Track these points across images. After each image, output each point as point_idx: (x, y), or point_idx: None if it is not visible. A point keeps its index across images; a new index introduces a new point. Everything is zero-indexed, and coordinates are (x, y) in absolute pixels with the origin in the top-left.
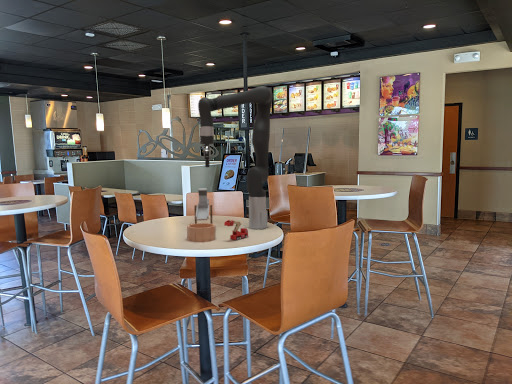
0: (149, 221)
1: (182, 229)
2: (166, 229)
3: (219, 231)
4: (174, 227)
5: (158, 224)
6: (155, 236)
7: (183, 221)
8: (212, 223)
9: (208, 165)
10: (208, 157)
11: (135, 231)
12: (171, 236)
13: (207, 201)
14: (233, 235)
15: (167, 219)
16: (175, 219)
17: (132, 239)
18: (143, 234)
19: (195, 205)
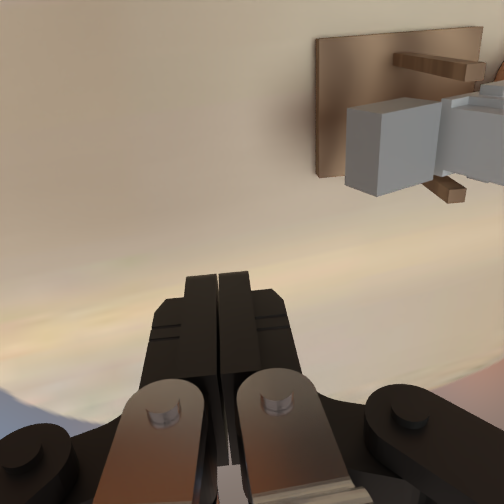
0: (95, 414)
1: (304, 228)
2: (298, 298)
3: (383, 6)
4: (249, 276)
5: None
6: (447, 302)
7: (68, 271)
8: (407, 54)
9: (278, 298)
10: (486, 444)
11: (332, 395)
12: (462, 241)
13: (415, 117)
14: None
15: (21, 359)
16: (11, 324)
17: (482, 361)
18: (397, 353)
19: (464, 194)
